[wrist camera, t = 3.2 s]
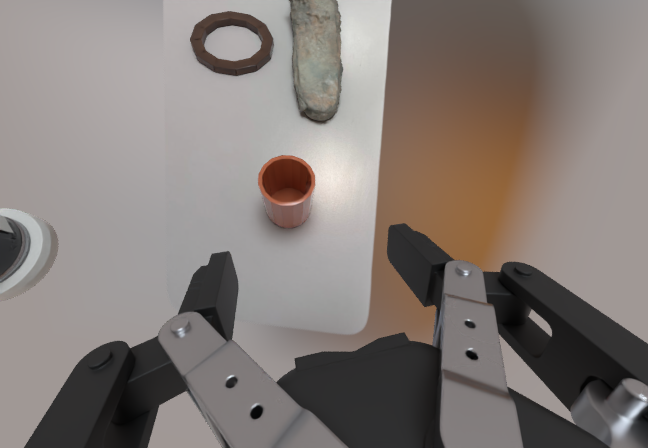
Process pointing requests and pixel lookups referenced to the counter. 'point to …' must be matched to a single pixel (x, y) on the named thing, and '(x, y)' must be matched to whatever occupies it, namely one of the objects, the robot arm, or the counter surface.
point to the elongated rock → (317, 56)
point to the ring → (225, 65)
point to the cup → (287, 190)
